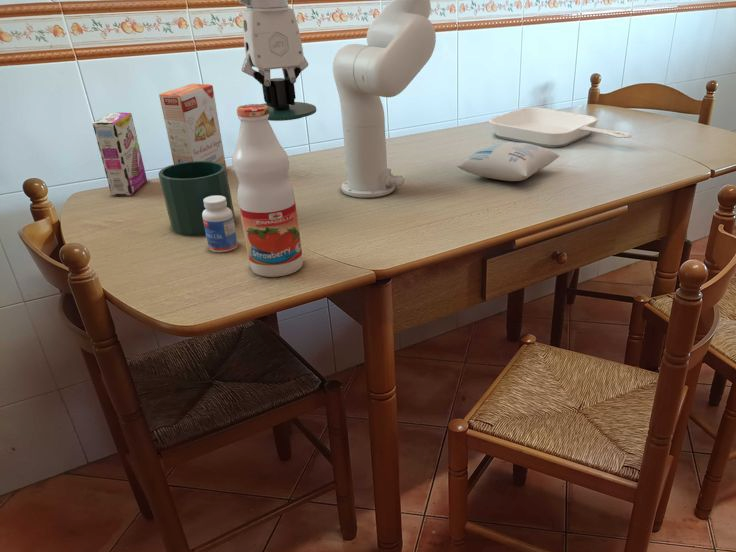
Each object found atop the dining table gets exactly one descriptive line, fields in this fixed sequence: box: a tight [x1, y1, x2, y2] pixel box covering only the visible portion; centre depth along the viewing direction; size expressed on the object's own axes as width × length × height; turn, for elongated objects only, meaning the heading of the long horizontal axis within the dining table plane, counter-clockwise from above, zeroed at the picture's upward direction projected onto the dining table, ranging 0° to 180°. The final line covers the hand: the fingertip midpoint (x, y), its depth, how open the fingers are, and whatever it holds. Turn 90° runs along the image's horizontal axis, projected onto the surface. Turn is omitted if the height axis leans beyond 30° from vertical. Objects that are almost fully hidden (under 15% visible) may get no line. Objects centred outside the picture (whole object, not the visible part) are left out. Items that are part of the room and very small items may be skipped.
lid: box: [260, 77, 317, 122], centre depth 131 cm, size 14×14×7 cm
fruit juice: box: [231, 103, 304, 278], centre depth 113 cm, size 9×9×28 cm
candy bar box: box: [92, 112, 148, 197], centre depth 152 cm, size 11×5×16 cm, turn 5°
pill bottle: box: [202, 196, 238, 253], centre depth 125 cm, size 6×5×10 cm
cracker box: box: [158, 83, 227, 170], centre depth 159 cm, size 14×6×21 cm, turn 168°
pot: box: [158, 161, 236, 237], centre depth 135 cm, size 12×12×12 cm
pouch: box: [455, 141, 561, 182], centre depth 165 cm, size 8×19×20 cm
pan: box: [488, 106, 633, 148], centre depth 197 cm, size 27×42×5 cm, turn 54°
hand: (280, 104), depth 131 cm, fingers closed on lid, 3 cm apart
